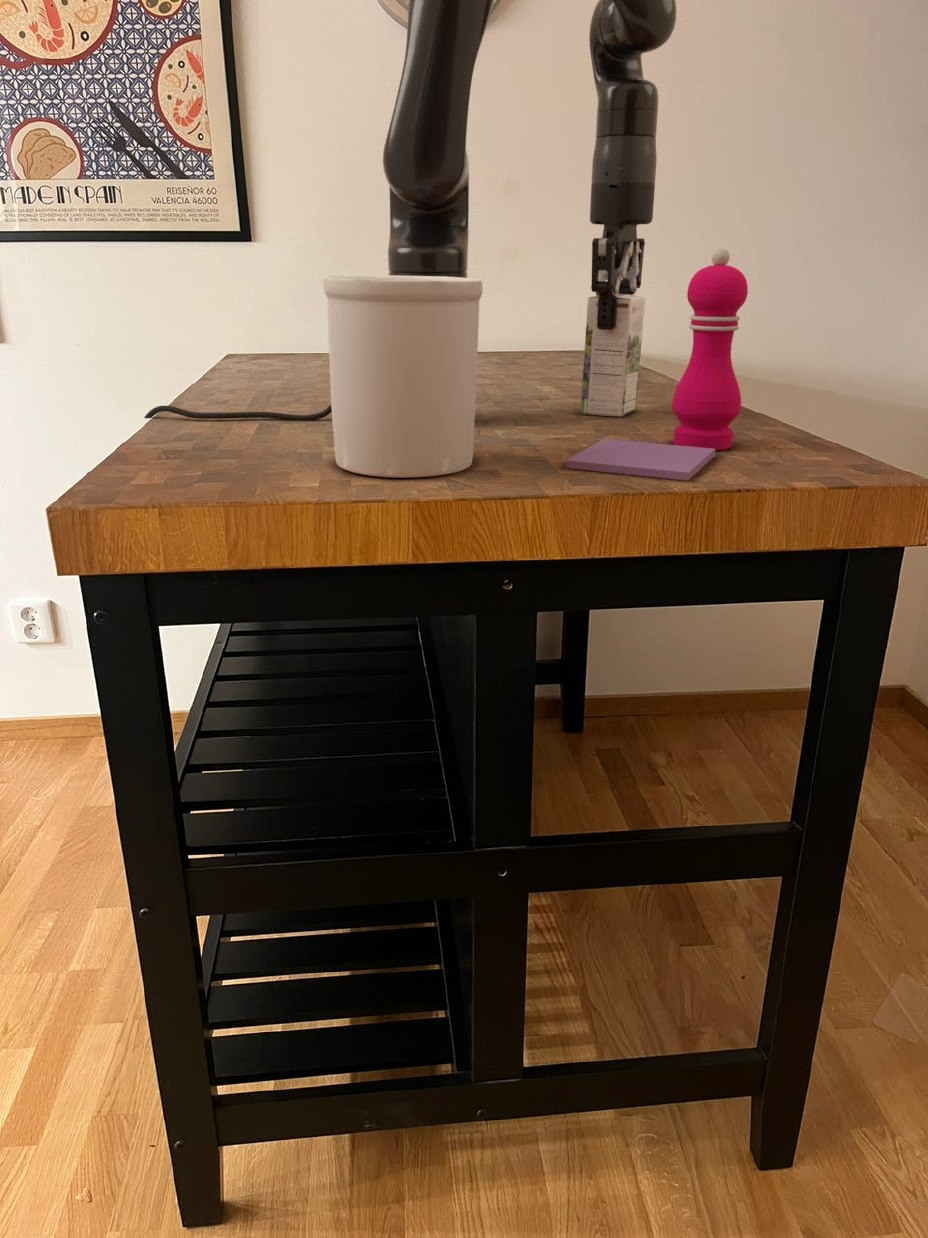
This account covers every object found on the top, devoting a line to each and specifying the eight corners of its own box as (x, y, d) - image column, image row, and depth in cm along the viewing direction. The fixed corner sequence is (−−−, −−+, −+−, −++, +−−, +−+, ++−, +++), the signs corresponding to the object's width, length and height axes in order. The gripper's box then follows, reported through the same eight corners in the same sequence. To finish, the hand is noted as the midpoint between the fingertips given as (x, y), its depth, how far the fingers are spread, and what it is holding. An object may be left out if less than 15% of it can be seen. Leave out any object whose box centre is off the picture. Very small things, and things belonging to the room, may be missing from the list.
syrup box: (595, 407, 124) (601, 293, 119) (637, 411, 122) (646, 294, 116) (579, 414, 120) (585, 295, 114) (623, 417, 117) (631, 296, 112)
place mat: (565, 468, 91) (566, 459, 91) (603, 445, 101) (603, 438, 101) (687, 480, 86) (688, 472, 86) (714, 456, 96) (715, 448, 96)
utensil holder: (466, 446, 101) (467, 273, 94) (494, 477, 87) (497, 278, 81) (329, 450, 98) (320, 274, 92) (335, 483, 85) (325, 279, 78)
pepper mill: (738, 453, 97) (761, 248, 90) (668, 450, 99) (685, 248, 91) (734, 440, 104) (755, 248, 96) (668, 437, 105) (684, 247, 98)
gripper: (611, 185, 118) (603, 322, 124) (573, 178, 106) (566, 330, 112) (669, 183, 115) (658, 324, 121) (637, 176, 103) (627, 333, 109)
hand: (614, 326), depth 117 cm, fingers open, 6 cm apart
